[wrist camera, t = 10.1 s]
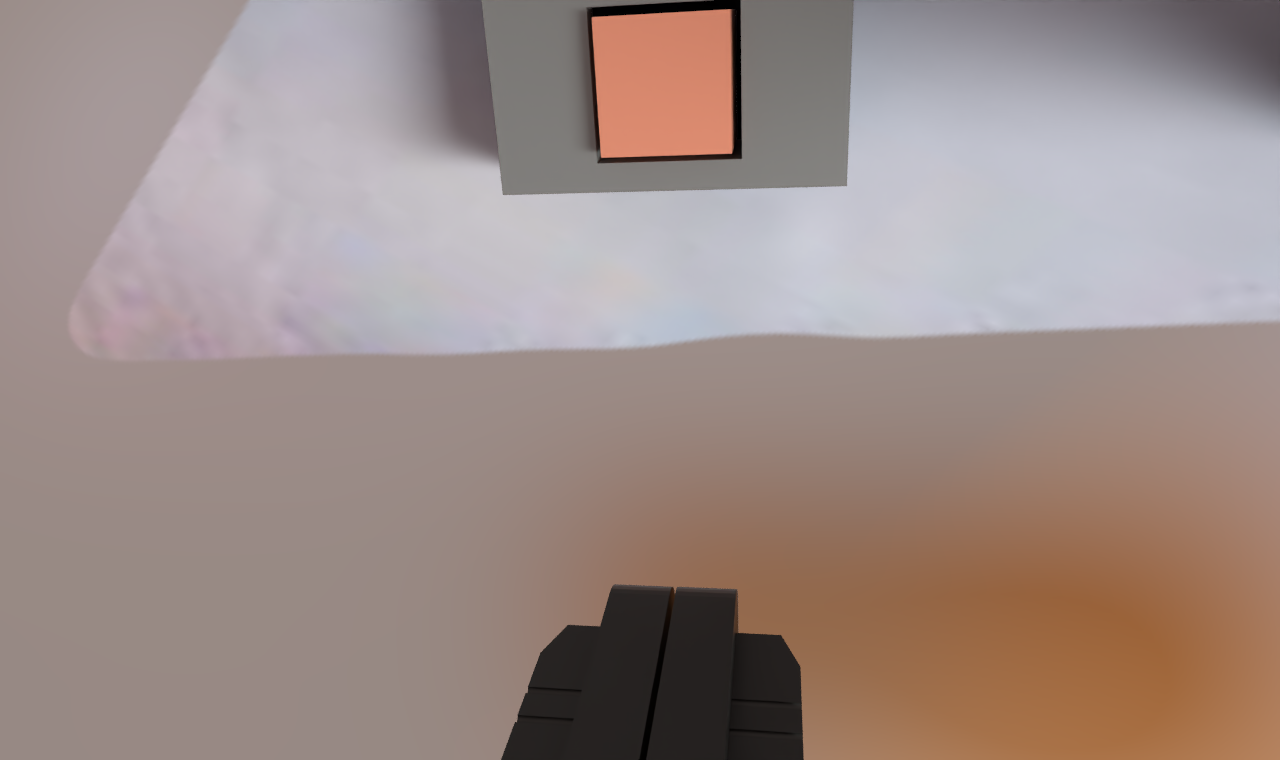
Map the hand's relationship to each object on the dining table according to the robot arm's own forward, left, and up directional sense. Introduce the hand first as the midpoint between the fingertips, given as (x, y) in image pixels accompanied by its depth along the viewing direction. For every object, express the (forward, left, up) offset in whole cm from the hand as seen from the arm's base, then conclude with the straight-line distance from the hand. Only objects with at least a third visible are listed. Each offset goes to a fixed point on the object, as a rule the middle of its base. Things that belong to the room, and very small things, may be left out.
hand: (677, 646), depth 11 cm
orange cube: (+2, -5, -26) cm, 26 cm away
